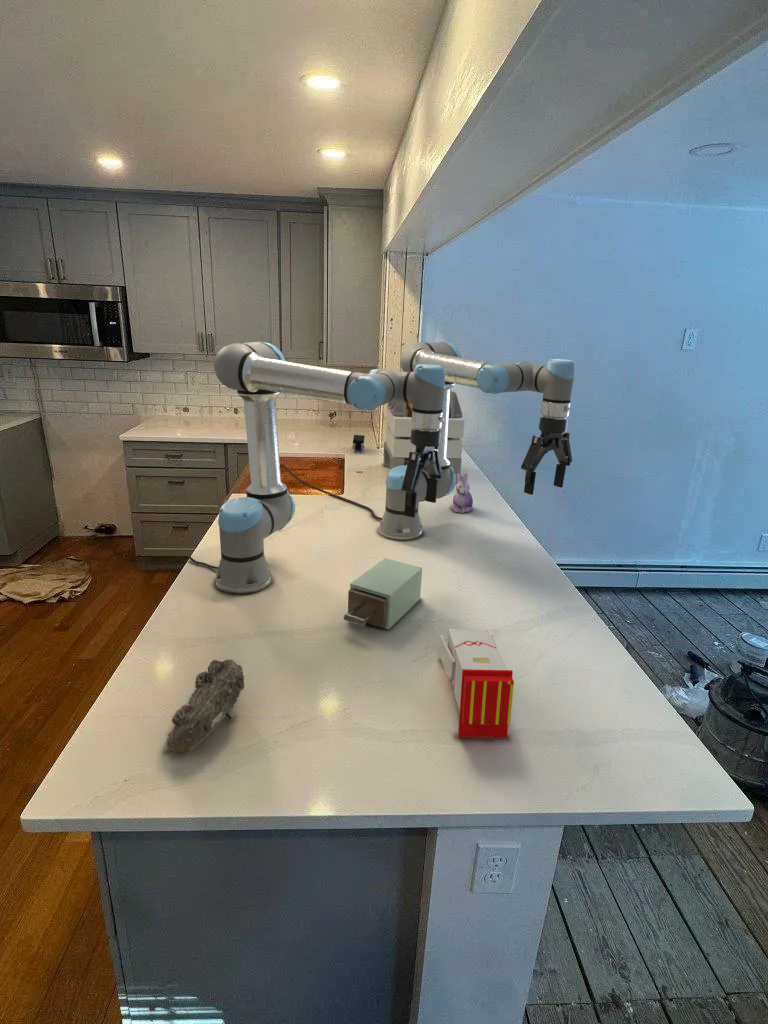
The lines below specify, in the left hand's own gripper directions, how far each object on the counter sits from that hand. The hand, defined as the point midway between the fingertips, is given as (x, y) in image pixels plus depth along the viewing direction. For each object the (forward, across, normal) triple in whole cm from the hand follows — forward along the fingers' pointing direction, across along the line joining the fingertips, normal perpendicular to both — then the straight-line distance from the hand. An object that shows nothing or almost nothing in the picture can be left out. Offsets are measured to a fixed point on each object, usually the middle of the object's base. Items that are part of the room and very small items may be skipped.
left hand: (420, 508), depth 149 cm
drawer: (+25, -16, +4) cm, 29 cm away
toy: (+26, -32, -28) cm, 50 cm away
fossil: (+26, -65, +13) cm, 71 cm away
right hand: (-1, +32, -25) cm, 40 cm away
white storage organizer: (+26, +115, +50) cm, 128 cm away
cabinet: (+26, -10, +4) cm, 28 cm away
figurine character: (+26, +136, +96) cm, 169 cm away
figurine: (+26, +76, +14) cm, 81 cm away
